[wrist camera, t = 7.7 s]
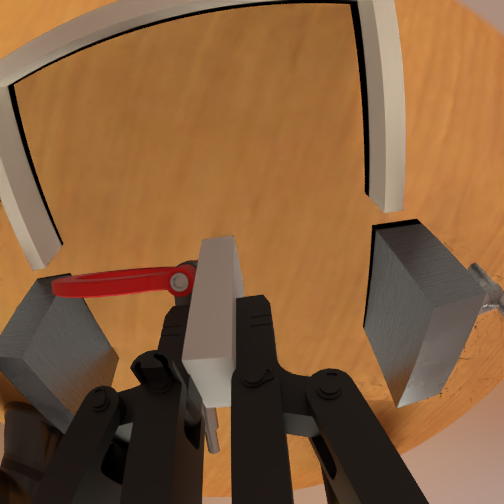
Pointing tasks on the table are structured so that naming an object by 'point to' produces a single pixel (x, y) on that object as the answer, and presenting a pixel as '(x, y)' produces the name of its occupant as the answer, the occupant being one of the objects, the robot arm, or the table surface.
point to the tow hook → (140, 281)
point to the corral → (173, 8)
